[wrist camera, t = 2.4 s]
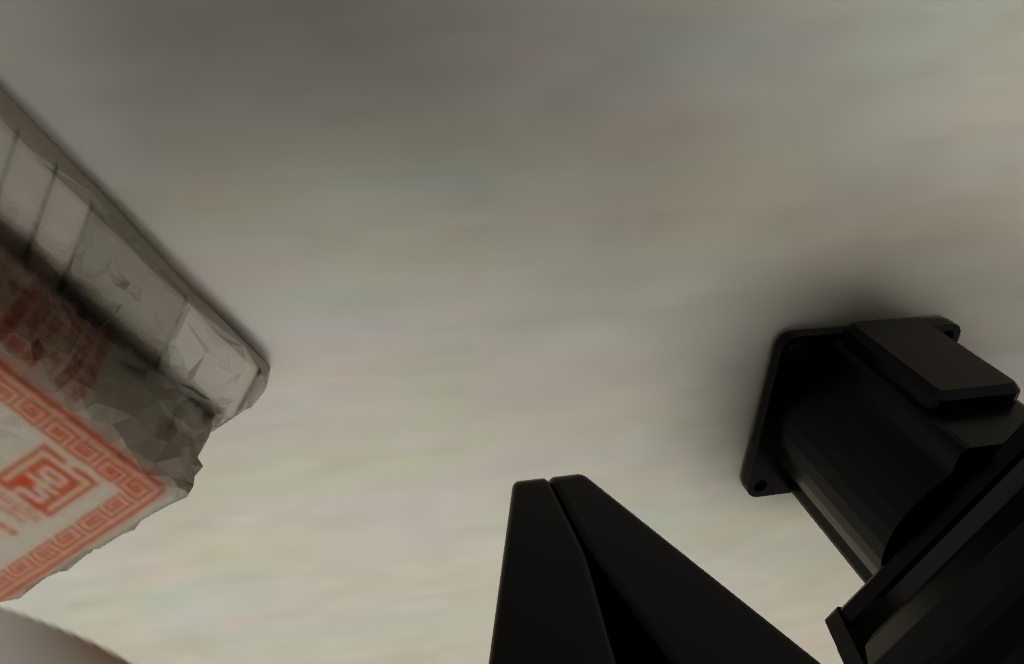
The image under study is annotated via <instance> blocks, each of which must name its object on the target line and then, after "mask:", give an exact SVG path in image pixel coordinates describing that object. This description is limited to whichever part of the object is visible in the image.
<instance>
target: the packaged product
mask: <svg viewBox="0 0 1024 664" xmlns="http://www.w3.org/2000/svg"><path fill="white" fill-rule="evenodd" d="M269 372H270V367H269V366H268V364H267V363H266V362H265V361H264V360H263V359H262V358H261V357H260V356H259V355H258V354H257V353H256V352H255V351H254V350H253V349H252V348H251V347H250V346H249V345H248V344H247V343H246V342H245V341H244V340H243V339H242V338H241V337H240V336H239V335H238V334H237V333H236V332H235V331H234V330H233V329H232V328H231V327H230V326H229V325H228V324H227V323H226V322H225V321H224V320H223V319H222V318H221V317H220V316H219V315H218V314H217V313H216V312H215V311H214V310H213V309H212V308H211V307H210V306H208V305H207V304H206V303H205V302H204V301H203V300H202V299H201V298H200V297H198V296H197V295H196V294H195V293H194V292H193V291H192V289H191V288H190V287H189V286H188V285H187V284H186V283H185V282H184V281H183V280H182V278H181V277H180V276H179V275H178V274H177V273H176V272H175V271H174V270H173V269H172V268H171V266H170V265H169V264H168V263H167V262H166V261H165V260H164V259H163V258H162V257H161V255H160V254H159V253H158V252H157V251H156V250H155V249H154V248H153V247H152V246H151V245H150V243H149V242H148V241H147V240H146V239H145V238H144V237H143V236H142V235H141V234H140V232H139V231H138V230H137V229H136V228H135V227H134V226H133V225H132V224H131V223H130V222H129V220H128V219H127V218H126V217H125V216H124V215H123V214H122V213H121V212H120V211H119V209H118V208H117V207H116V206H115V205H114V204H113V203H112V202H111V201H110V200H109V199H108V198H107V197H106V195H105V194H104V193H103V192H102V191H101V190H100V189H99V188H98V187H97V186H96V185H95V184H94V183H93V182H91V181H90V180H89V179H88V178H87V177H86V176H85V175H84V174H83V173H82V172H81V171H80V170H79V169H78V167H77V166H76V165H75V164H74V163H73V162H72V161H71V160H70V159H69V158H68V157H67V156H66V155H65V154H64V153H63V152H62V151H61V150H60V149H59V148H58V147H57V146H56V145H55V144H54V143H53V142H52V141H51V140H50V139H49V138H48V136H47V135H46V134H45V133H44V132H43V131H42V130H41V129H40V128H39V127H38V126H37V125H36V124H35V123H34V122H33V121H32V120H31V119H30V118H29V117H28V116H27V115H26V114H25V113H24V112H23V111H22V110H21V109H20V108H19V107H18V105H17V104H16V103H15V102H14V101H13V100H12V99H11V98H10V97H9V96H8V95H7V94H6V93H5V92H4V91H3V90H2V89H1V88H0V602H3V601H8V600H13V599H18V598H20V597H22V596H23V595H24V594H25V593H27V592H28V591H29V590H30V589H32V588H33V587H34V586H35V585H36V584H38V583H39V582H40V581H42V580H43V579H45V578H46V577H48V576H50V575H53V574H55V573H57V572H60V571H67V570H68V569H70V568H71V567H72V566H73V565H74V564H76V563H77V562H78V561H79V560H81V559H82V558H83V557H84V556H85V555H87V554H89V553H91V552H92V551H93V550H94V549H99V548H101V547H102V546H104V545H106V544H107V543H109V542H110V541H112V540H114V539H115V538H117V537H118V536H120V535H122V534H123V533H126V532H129V531H132V530H134V529H135V528H136V527H137V525H138V524H139V522H140V521H141V520H143V519H145V518H146V517H148V516H150V515H151V514H153V513H155V512H157V511H159V510H161V509H162V508H164V507H166V506H168V505H170V504H172V503H174V502H176V501H179V500H181V499H183V498H185V497H187V495H188V494H189V492H190V491H191V489H192V487H193V485H194V476H195V475H196V474H197V473H198V472H199V470H200V469H201V468H202V467H203V466H202V464H201V462H200V461H199V459H198V455H199V454H200V452H201V450H202V448H203V446H204V444H205V443H206V441H207V439H208V437H209V434H210V432H212V431H213V430H215V429H216V428H218V427H219V426H221V425H223V424H224V423H226V422H227V421H229V420H230V419H232V418H233V417H235V416H236V415H238V414H240V413H241V412H242V411H244V410H245V409H247V408H251V407H252V406H253V405H254V403H255V402H256V401H257V400H258V398H259V397H260V396H261V395H262V394H263V392H264V391H265V390H266V386H267V382H268V377H269Z"/></svg>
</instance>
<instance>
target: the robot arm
mask: <svg viewBox="0 0 1024 664" xmlns="http://www.w3.org/2000/svg"><path fill="white" fill-rule="evenodd" d="M959 336H960V327H959V326H958V325H956V324H955V323H953V322H952V321H950V320H949V319H947V318H936V319H924V320H923V319H921V318H918V317H913V318H901V319H889V320H877V321H865V322H854V323H851V324H849V325H846V326H839V327H827V328H815V329H803V330H792V331H788V332H786V333H784V334H783V335H781V336H780V337H779V338H778V340H777V341H776V343H775V346H774V350H773V354H772V358H771V363H770V367H769V371H768V375H767V379H766V383H765V387H764V391H763V396H762V400H761V404H760V408H759V412H758V416H757V420H756V425H755V429H754V433H753V437H752V441H751V445H750V449H749V454H748V458H747V462H746V466H745V470H744V474H743V478H742V485H743V486H744V488H745V489H746V491H747V492H748V493H749V495H751V496H753V497H760V496H768V495H775V494H783V493H790V492H792V493H793V495H794V496H795V497H796V498H797V500H798V501H799V502H800V503H801V505H802V506H803V507H804V508H805V510H806V511H807V512H808V513H809V515H810V516H811V517H812V518H813V519H814V521H815V522H816V523H817V524H818V526H819V527H820V528H821V529H822V531H823V532H824V533H825V534H826V536H827V537H828V538H829V539H830V541H831V542H832V543H833V544H834V546H835V547H836V548H837V549H838V550H839V552H840V553H841V554H842V555H843V557H844V558H845V559H846V560H847V562H848V563H849V564H850V565H851V567H852V568H853V569H854V570H855V572H856V573H857V574H858V575H859V577H860V578H861V579H862V580H863V581H864V583H865V584H864V585H863V586H862V587H861V589H860V590H859V591H858V592H857V593H856V594H855V595H854V596H853V597H852V598H851V599H850V600H849V601H848V602H847V603H846V604H845V605H844V606H843V607H837V608H836V609H835V610H834V611H833V612H832V613H831V614H830V615H829V616H828V617H827V618H826V619H825V622H826V624H827V627H828V629H829V631H830V633H831V635H832V638H833V640H834V642H835V644H836V646H837V650H838V652H839V654H840V656H841V659H842V661H843V663H844V664H1024V404H1022V403H1021V402H1020V401H1018V400H1017V398H1018V396H1019V394H1020V388H1019V387H1018V385H1017V384H1016V382H1015V381H1014V380H1012V379H1011V378H1009V377H1008V376H1006V375H1005V374H1003V373H1002V372H1000V371H999V370H997V369H996V368H994V367H993V366H991V365H990V364H988V363H987V362H985V361H984V360H982V359H981V358H979V357H978V356H976V355H975V354H973V353H972V352H970V351H969V350H967V349H966V348H964V347H963V346H961V345H960V344H958V343H957V341H958V339H959ZM794 344H796V345H795V347H794V348H793V349H792V350H789V349H790V347H791V346H793V345H794ZM758 481H759V482H758ZM757 482H758V483H757ZM489 664H820V663H819V662H818V661H817V660H815V659H814V658H813V657H812V656H810V655H809V654H808V653H807V652H805V651H804V650H803V649H802V648H800V647H799V646H798V645H797V644H795V643H794V642H793V641H792V640H790V639H789V638H788V637H787V636H785V635H784V634H783V633H782V632H780V631H779V630H778V629H777V628H775V627H774V626H773V625H772V624H770V623H769V622H768V621H766V620H765V619H764V618H763V617H761V616H760V615H759V614H758V613H756V612H755V611H754V610H753V609H751V608H750V607H749V606H748V605H746V604H745V603H744V602H743V601H741V600H740V599H739V598H738V597H736V596H735V595H734V594H733V593H731V592H730V591H729V590H728V589H726V588H725V587H724V586H723V585H721V584H720V583H719V582H718V581H716V580H715V579H714V578H713V577H711V576H710V575H709V574H708V573H706V572H705V571H704V570H703V569H701V568H700V567H699V566H697V565H696V564H695V563H694V562H692V561H691V560H690V559H689V558H687V557H686V556H685V555H684V554H682V553H681V552H680V551H679V550H677V549H676V548H675V547H674V546H672V545H671V544H670V543H669V542H667V541H666V540H665V539H664V538H662V537H661V536H660V535H659V534H657V533H656V532H655V531H654V530H652V529H651V528H650V527H649V526H647V525H646V524H645V523H644V522H642V521H641V520H640V519H639V518H637V517H636V516H635V515H634V514H632V513H631V512H630V511H629V510H627V509H626V508H625V507H623V506H622V505H621V504H620V503H618V502H617V501H616V500H615V499H613V498H612V497H611V496H610V495H608V494H607V493H606V492H605V491H603V490H602V489H601V488H600V487H598V486H597V485H596V484H595V483H593V482H592V481H591V480H590V479H588V478H587V477H586V476H583V475H580V474H576V475H567V476H559V477H553V478H551V479H550V480H549V482H548V481H547V480H545V479H533V480H525V481H518V482H516V483H514V485H513V488H512V495H511V502H510V510H509V517H508V525H507V532H506V539H505V547H504V554H503V562H502V569H501V576H500V584H499V591H498V599H497V606H496V613H495V621H494V628H493V636H492V643H491V651H490V658H489Z"/></svg>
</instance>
